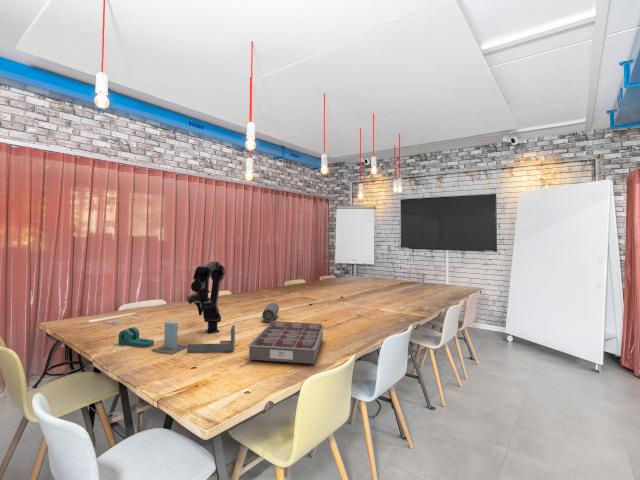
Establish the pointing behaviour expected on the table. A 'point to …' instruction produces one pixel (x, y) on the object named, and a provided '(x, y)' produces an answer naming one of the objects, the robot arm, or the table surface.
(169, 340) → the pale blue-grey block
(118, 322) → the printed paper
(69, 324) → the table surface
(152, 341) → the bracket
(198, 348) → the board rack
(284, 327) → the organizer tray
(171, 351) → the rubber mat
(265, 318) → the bluetooth speaker
